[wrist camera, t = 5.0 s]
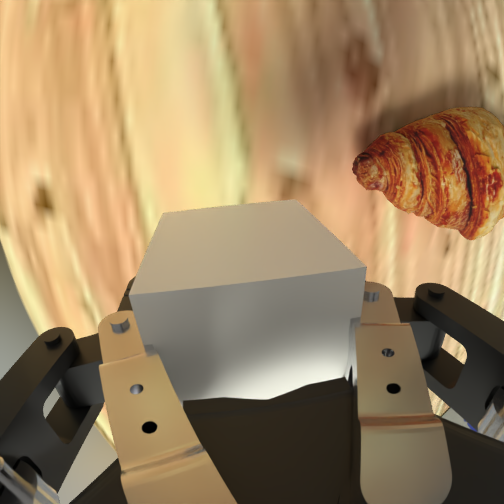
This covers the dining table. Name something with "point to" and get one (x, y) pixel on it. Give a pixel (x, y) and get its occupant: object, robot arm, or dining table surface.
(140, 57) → the dining table surface
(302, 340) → the white block
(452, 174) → the croissant
